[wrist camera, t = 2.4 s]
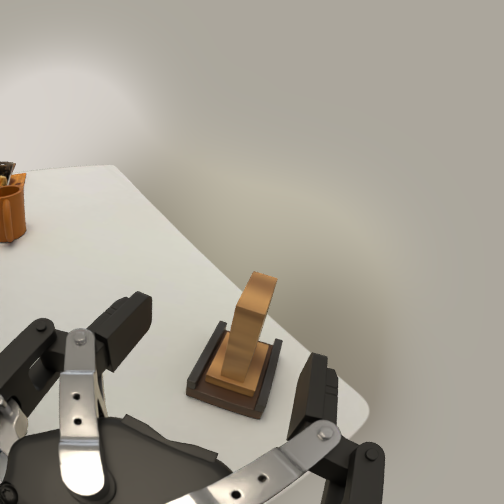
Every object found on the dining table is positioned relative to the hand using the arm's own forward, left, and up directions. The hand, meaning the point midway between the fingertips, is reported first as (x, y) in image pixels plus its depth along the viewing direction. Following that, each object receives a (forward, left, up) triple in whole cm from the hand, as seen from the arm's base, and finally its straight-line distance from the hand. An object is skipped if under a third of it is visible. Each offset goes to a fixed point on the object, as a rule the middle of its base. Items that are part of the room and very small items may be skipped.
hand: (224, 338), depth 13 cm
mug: (+48, +24, -16) cm, 56 cm away
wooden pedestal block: (+8, -8, -14) cm, 18 cm away
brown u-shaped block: (+8, -8, -16) cm, 19 cm away
